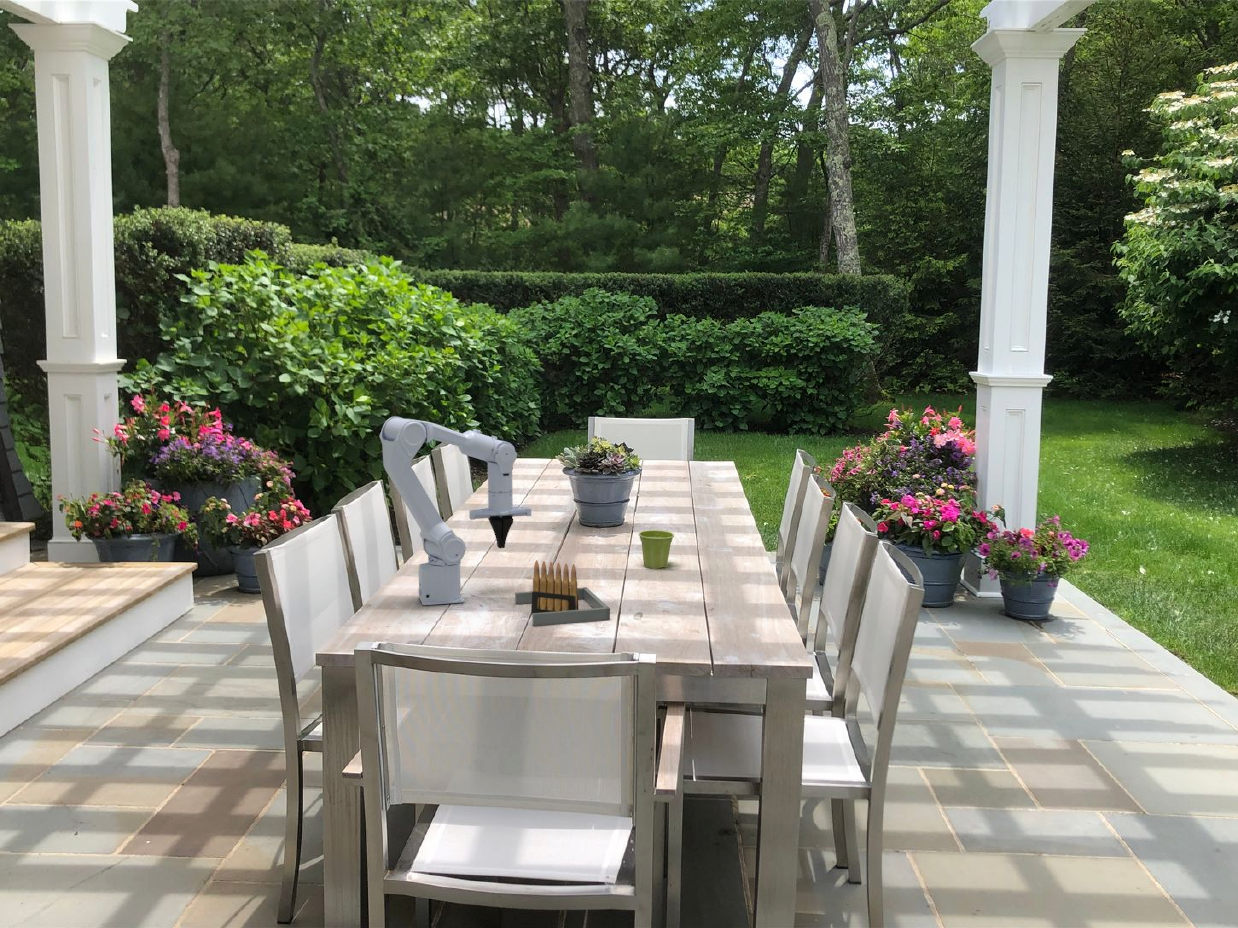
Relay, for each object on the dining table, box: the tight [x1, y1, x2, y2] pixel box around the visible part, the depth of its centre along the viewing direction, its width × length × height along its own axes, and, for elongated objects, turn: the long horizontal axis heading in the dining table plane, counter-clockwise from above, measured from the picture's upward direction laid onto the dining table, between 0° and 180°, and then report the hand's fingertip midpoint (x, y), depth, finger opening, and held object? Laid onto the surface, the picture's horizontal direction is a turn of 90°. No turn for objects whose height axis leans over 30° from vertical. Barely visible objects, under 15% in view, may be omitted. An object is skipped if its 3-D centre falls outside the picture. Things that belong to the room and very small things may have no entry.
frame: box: [514, 586, 611, 627], centre depth 231 cm, size 17×18×2 cm
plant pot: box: [638, 529, 675, 570], centre depth 272 cm, size 9×9×9 cm
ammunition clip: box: [530, 560, 580, 614], centre depth 227 cm, size 11×2×12 cm, turn 71°
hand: (501, 547), depth 246 cm, fingers closed
